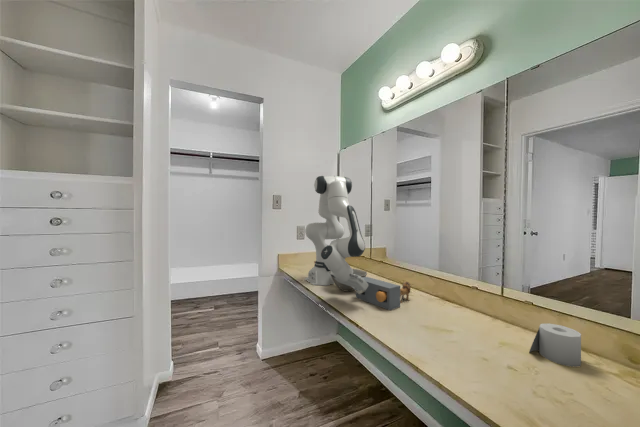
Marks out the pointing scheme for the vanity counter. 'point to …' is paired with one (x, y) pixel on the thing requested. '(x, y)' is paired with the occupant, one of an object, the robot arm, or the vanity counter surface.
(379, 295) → the button orange
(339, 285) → the ceramic bowl
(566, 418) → the vanity counter surface
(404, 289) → the lion figurine
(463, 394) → the vanity counter surface
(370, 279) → the control box
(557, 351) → the toilet tissue
